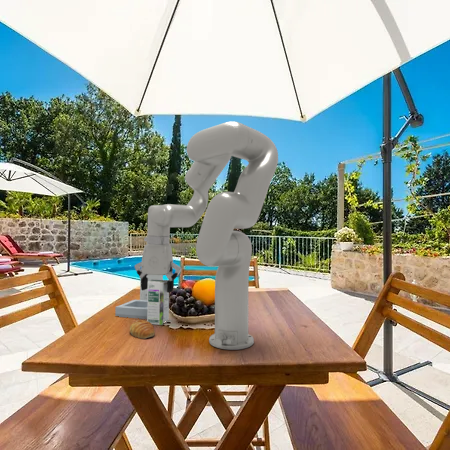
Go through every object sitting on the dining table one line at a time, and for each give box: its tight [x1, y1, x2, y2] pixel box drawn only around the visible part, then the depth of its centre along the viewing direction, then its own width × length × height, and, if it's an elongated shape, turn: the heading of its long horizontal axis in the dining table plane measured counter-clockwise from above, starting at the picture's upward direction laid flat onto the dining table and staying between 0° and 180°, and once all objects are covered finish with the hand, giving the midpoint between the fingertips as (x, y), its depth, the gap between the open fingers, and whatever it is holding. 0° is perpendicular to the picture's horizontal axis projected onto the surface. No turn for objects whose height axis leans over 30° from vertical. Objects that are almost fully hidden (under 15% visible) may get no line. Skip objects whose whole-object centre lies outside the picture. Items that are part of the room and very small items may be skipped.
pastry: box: [129, 319, 156, 340], centre depth 97 cm, size 9×7×4 cm
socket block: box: [114, 299, 148, 320], centre depth 121 cm, size 13×13×4 cm
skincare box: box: [139, 274, 164, 301], centre depth 136 cm, size 8×6×15 cm
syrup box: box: [146, 279, 170, 326], centre depth 110 cm, size 6×6×14 cm
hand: (157, 290), depth 110 cm, fingers open, 9 cm apart
